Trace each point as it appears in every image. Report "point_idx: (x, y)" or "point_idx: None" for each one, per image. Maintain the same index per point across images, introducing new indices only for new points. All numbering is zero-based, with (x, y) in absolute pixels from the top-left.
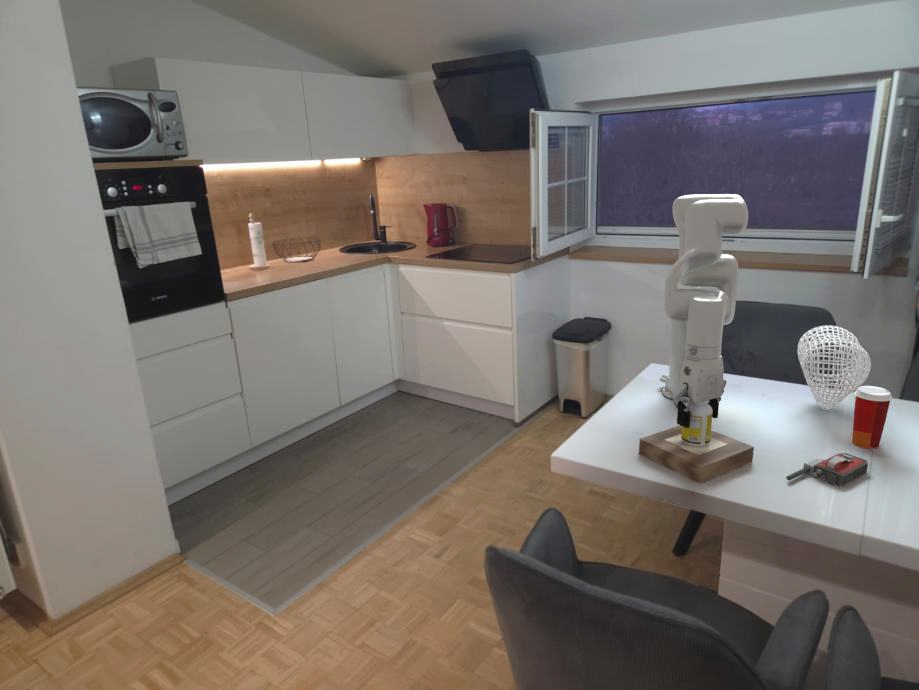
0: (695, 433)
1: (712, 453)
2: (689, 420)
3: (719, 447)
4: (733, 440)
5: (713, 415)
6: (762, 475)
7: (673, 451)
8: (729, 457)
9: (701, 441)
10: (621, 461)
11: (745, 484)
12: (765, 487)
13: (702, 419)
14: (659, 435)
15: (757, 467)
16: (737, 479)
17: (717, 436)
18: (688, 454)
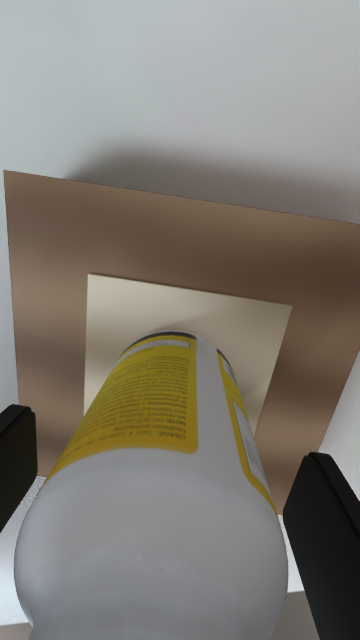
0: (240, 398)
1: (226, 275)
2: (350, 503)
3: (148, 283)
4: (25, 280)
5: (25, 433)
6: (117, 91)
7: (319, 395)
8: (196, 200)
9: (213, 351)
10: (352, 471)
11: (243, 99)
12: (210, 12)
13: (233, 448)
14: None
15: (70, 148)
16: (224, 149)
17: (49, 348)
18: (308, 341)
